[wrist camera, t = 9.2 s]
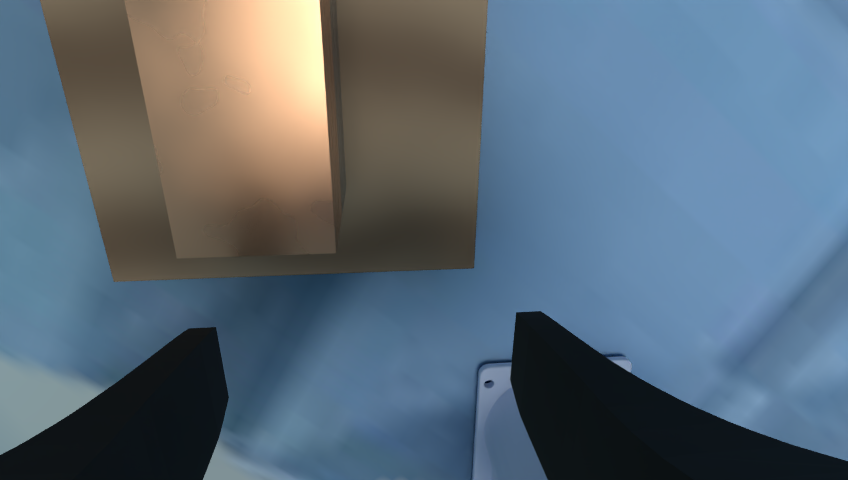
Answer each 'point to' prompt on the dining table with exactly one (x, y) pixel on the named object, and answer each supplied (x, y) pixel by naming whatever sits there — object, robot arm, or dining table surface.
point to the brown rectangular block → (244, 122)
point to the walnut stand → (362, 128)
